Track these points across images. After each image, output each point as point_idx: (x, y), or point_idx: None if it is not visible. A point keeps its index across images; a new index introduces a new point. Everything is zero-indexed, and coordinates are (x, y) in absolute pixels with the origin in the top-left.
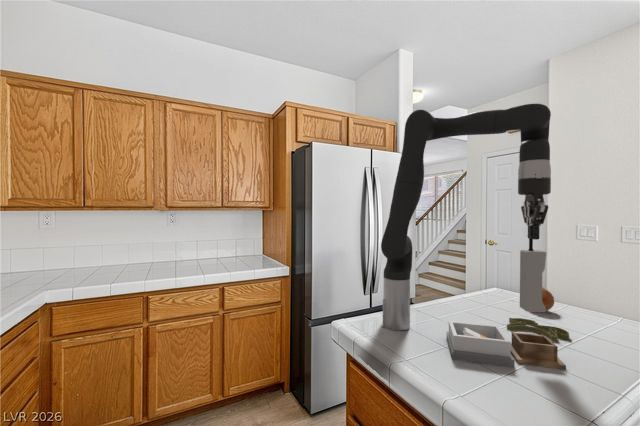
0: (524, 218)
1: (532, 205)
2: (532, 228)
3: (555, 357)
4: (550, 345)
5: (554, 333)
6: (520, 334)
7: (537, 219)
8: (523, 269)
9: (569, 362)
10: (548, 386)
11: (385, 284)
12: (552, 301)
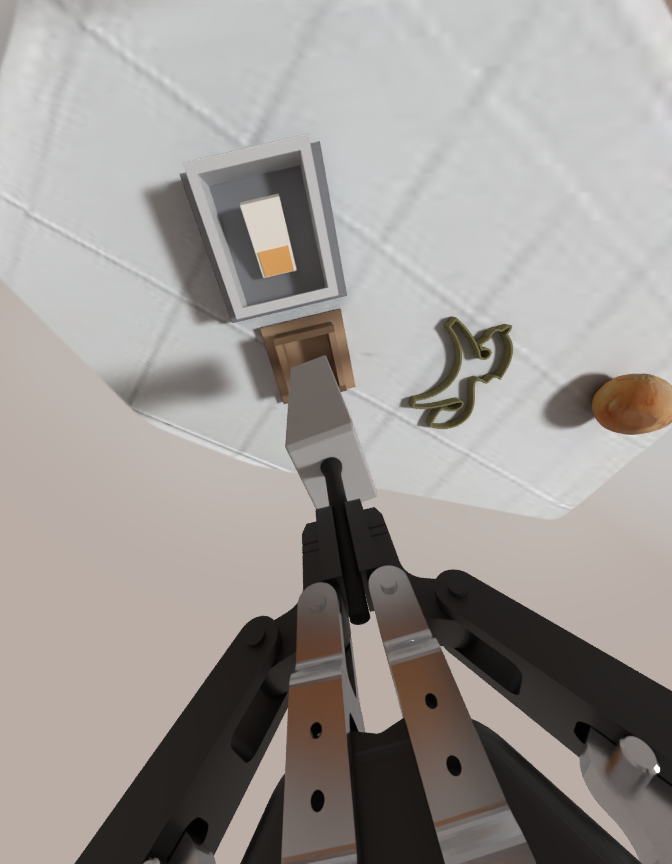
0: (487, 609)
1: None
2: (311, 575)
3: None
4: None
5: (434, 405)
6: (330, 343)
7: (261, 684)
8: (309, 401)
9: None
10: (196, 369)
11: None
12: (607, 428)
